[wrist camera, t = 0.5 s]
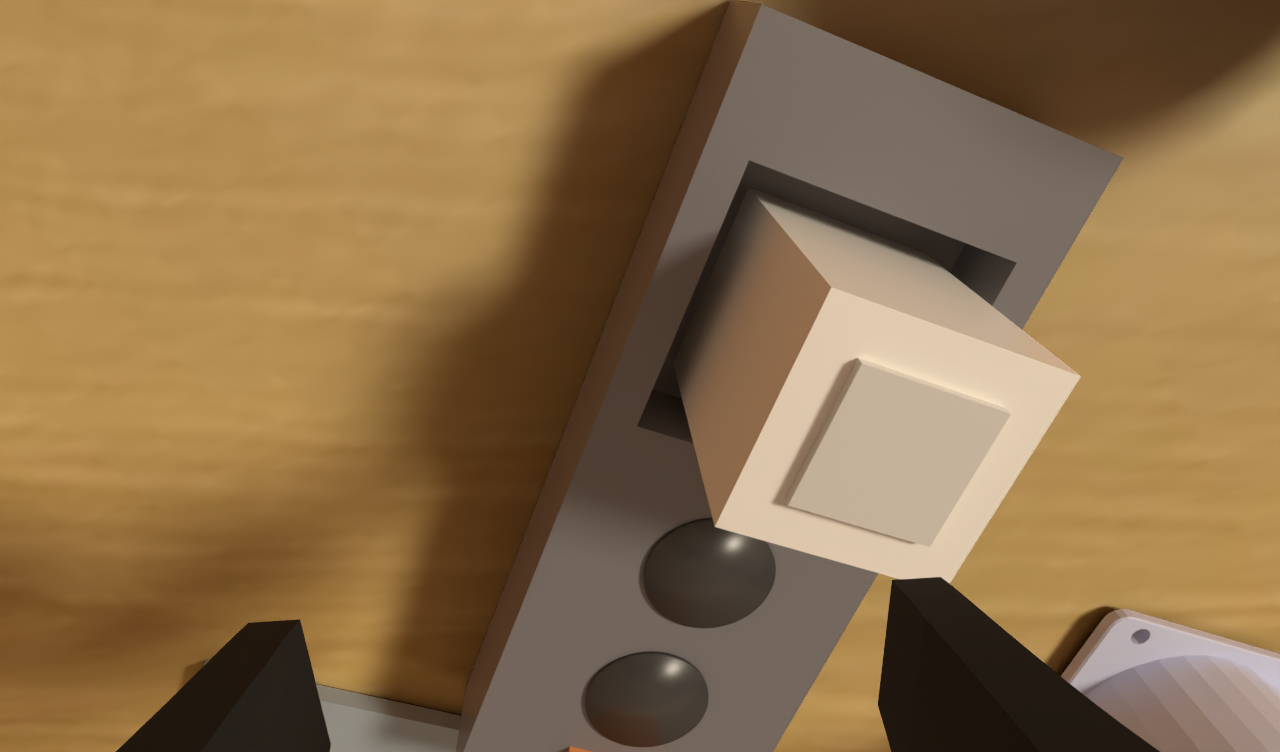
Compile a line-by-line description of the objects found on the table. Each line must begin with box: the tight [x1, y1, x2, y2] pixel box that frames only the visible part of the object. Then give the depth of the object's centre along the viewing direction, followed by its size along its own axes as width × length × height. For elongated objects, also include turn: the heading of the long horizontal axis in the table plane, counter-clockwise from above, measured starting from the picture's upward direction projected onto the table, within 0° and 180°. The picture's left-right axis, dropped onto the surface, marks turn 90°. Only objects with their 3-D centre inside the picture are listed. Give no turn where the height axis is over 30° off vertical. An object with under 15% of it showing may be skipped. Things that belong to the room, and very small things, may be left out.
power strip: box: [456, 0, 1123, 752], centre depth 19 cm, size 7×18×4 cm, turn 159°
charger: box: [673, 187, 1081, 584], centre depth 15 cm, size 4×4×6 cm
